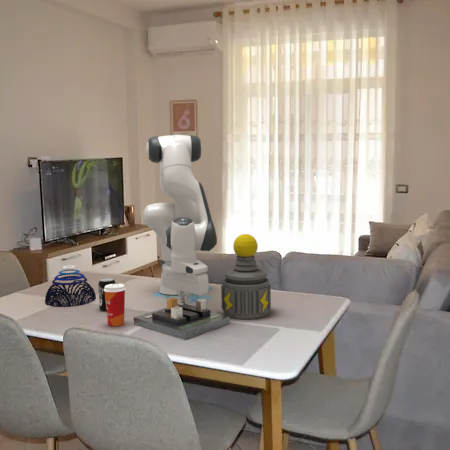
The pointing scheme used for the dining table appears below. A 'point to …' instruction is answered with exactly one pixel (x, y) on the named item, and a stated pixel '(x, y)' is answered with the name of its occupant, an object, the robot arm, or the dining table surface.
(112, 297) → the paper cup
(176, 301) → the block
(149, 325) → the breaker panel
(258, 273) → the decorative lamp
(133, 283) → the dining table surface
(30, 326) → the dining table surface
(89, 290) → the decorative bowl
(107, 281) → the beverage can
